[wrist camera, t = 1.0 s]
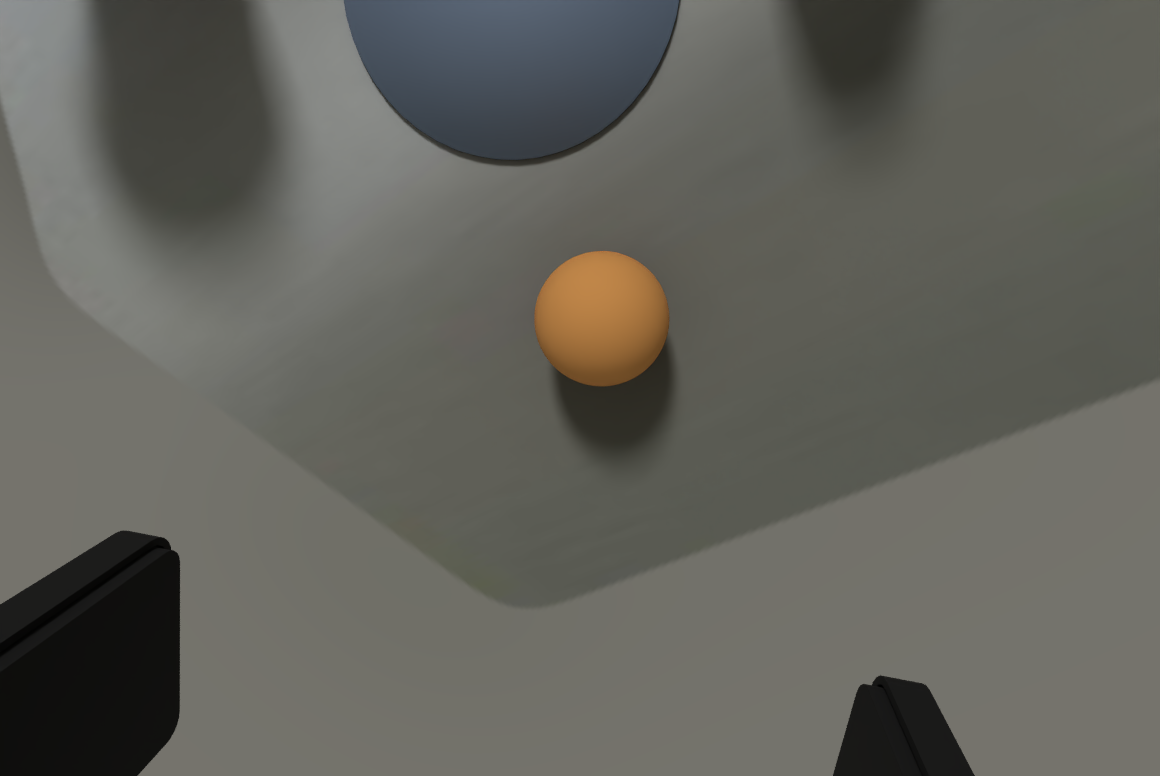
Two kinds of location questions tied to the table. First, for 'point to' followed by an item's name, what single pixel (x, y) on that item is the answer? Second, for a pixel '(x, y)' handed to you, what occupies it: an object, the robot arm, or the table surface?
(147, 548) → the robot arm
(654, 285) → the ball
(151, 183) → the table surface
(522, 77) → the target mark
